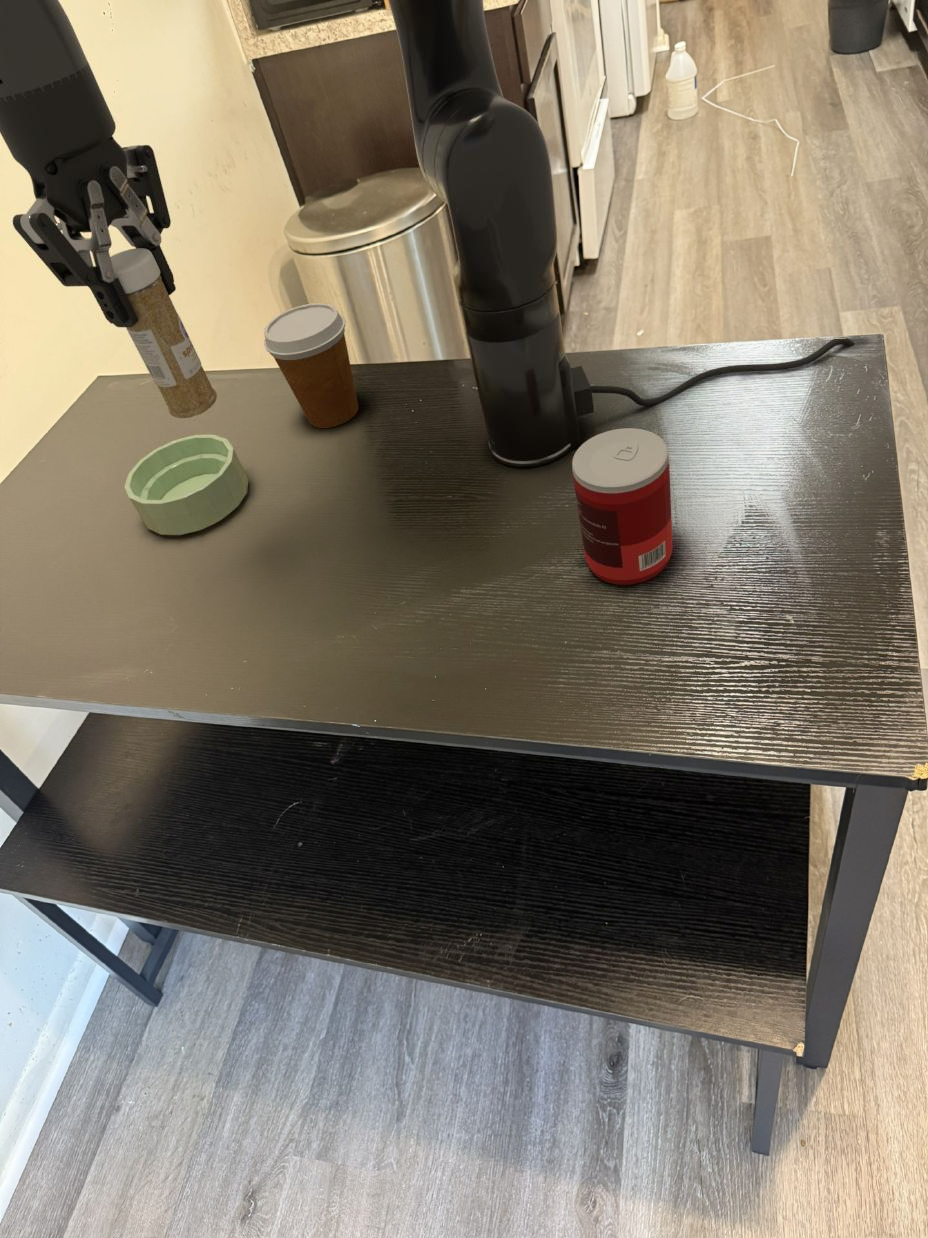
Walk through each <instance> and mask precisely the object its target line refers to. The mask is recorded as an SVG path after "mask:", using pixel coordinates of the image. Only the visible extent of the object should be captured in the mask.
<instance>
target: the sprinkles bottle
mask: <svg viewBox="0 0 928 1238" xmlns="http://www.w3.org/2000/svg"><path fill="white" fill-rule="evenodd" d="M110 258H111V262H112V266H113V270H114V275H115V278H118V279H119V281H120V283H121V285H122V287H123V289H124V291H125V293H126V295H127V297H128V299H129V301H130V303H131V305H132V307H133V309H134V311H135V313H136V315H137V317H138V322H137V323H136V324H135V325H134V326H133V327H125V329H126V331H127V333H128V334H129V337H130V338H131V341H132V342H133V344H134V346H135V348H136V350H137V352H138V354H139V356H140V357H141V359H142V362H143V364H144V365H145V368H146V369H147V371H148V373H149V375H150V377H151V379H152V381H153V383H154V384H155V385H156V386H157V388H158V390H159V392H160V394H161V397H162V398H163V401H164V402H165V404H166V406H167V411H168V413H169V415H171V416H172V417H174V418H177V419H190V418H193V417H196V416H199V415H201V414H203V413H205V412H207V411H208V410H209V409H210V408H211V407H213V405H214V404H215V403H216V400H217V398H218V394H217V392H216V390H215V388H213V386H212V384H211V382H210V380H209V378H208V376H207V373H206V371H205V369H204V367H203V365H202V362H201V361H202V360H201V359H200V357H199V355H198V352H197V351H196V348H195V347H194V344H193V342H192V340H191V338H190V336H189V334H188V332H187V329H186V327H185V325H184V323H183V320H182V319H181V316H180V315H179V313H178V312H177V310H176V308H175V305H174V303H173V300H172V299H171V297H170V295H168V292H167V291H166V288H165V286H164V284H163V282H162V280H161V276H160V270H159V267H158V265H157V263H156V261H155V259H154V257H153V255H152V253H151V252H150V251H149V250H147V249H144V248H135V247H134V248H129V249H126V250H123V251H119V252H117V253H115V254H113V255H110ZM115 278H114V279H115Z"/></svg>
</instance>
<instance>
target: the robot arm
mask: <svg viewBox="0 0 928 1238" xmlns="http://www.w3.org/2000/svg"><path fill="white" fill-rule="evenodd" d="M387 2H388V5H389V9H390V12H391V15H392V19H393V23H394V26H395V29H396V30H395V31H396V34H397V35H396V36H397V37H398V38H397V39H398V43H399V48H400V53H401V58H402V65H403V72H404V77H405V79H404V80H405V84H406V91H407V99H408V103H409V112H410V119H411V125H412V133H413V139H414V147H415V152H416V158H417V161H418V166H419V168H420V171H421V174H422V176H423V179H424V180H425V181H426V182H425V183H426V184H427V186H428V187H429V188H430V190H431V191H432V192H433V193H434V194H435V196H437V197H438V198H439V199H440V200H441V201H442V202H444V203H445V204H446V205H447V207H448V211H449V216H450V221H451V226H452V232H453V235H454V241H455V242H454V243H455V247H456V252H457V253H456V254H457V261H456V263H455V264H454V267H453V270H452V280H453V286H454V289H455V294H456V298H457V303H458V307H459V312H460V316H461V321H462V325H463V330H464V335H465V340H466V343H467V348H468V353H469V358H470V362H471V367H472V371H473V376H474V380H475V384H476V389H477V393H478V398H479V403H480V407H481V411H482V417H483V421H484V425H485V429H486V437H487V440H488V447H489V451H490V454H491V455H492V457H493V458H494V459H495V460H496V461H498V462H500V463H501V464H504V465H506V466H509V467H510V466H511V467H518V468H528V467H530V468H531V467H537V466H542V465H545V464H549V463H551V462H553V461H556V460H557V459H559V458H562V457H563V456H564V455H565V454H567V453H568V452H569V451H570V450H572V449H575V448H579V447H580V446H581V445H582V442H581V433H580V428H579V419H578V418H579V417H582V416H587V415H590V414H595V408H594V407H595V406H594V397H593V394H614V395H615V394H616V395H621V396H625V397H627V398H629V399H630V400H631V401H632V402H634V403H635V404H636V405H638V406H640V407H641V406H642V407H653V406H657V405H660V404H662V403H664V402H666V401H668V400H670V399H672V398H673V397H675V396H677V395H680V394H681V393H682V392H684V391H685V390H688V389H689V388H691V387H693V386H694V385H696V384H698V383H700V382H702V381H704V380H707V379H710V378H712V377H717V376H720V375H726V374H734V373H746V372H747V373H751V372H752V373H753V372H775V371H785V370H790V369H796V368H800V367H803V366H807V365H809V364H811V363H813V362H815V361H816V360H818V359H820V358H821V357H822V356H824V355H825V354H826V353H827V352H829V351H830V350H831V349H833V348H835V347H836V346H841V345H842V346H844V347H847V348H850V347H853V346H855V344H856V343H855V342H854V341H853V340H852V339H850V338H849V337H843V336H842V337H841V336H840V338H846V339H835V338H833V339H831V340H830V341H828V342H827V343H825V344H824V345H823V346H821V347H820V348H819V349H817V350H816V351H814V352H813V353H811V354H810V355H807V356H806V357H803V358H800V359H796V360H791V361H786V362H776V363H755V364H735V365H727V366H721V367H720V366H719V367H716V368H712V369H709V370H706V371H703V372H700V373H698V374H697V375H694V376H693V377H691V378H689V379H687V380H686V381H684V382H683V383H681V384H680V385H678V386H676V387H675V388H673V389H672V390H670V391H668V392H667V393H664V394H663V395H660V396H658V397H653V398H642V397H641V396H639V395H638V394H637V393H636V392H635V391H634V390H632V389H629V388H625V387H622V386H615V385H614V386H613V385H591V383H590V381H589V379H588V377H587V375H586V373H585V370H584V368H583V366H582V365H579V366H575V367H571V364H570V361H569V358H568V356H567V353H566V349H565V341H564V334H563V327H562V320H561V312H560V304H559V298H558V289H557V283H556V275H555V267H554V266H555V265H554V264H555V259H556V255H557V252H558V251H557V250H558V226H557V216H556V215H557V214H556V203H555V192H554V183H553V172H552V166H551V158H550V153H549V148H548V145H547V141H546V138H545V135H544V133H543V131H542V128H541V126H540V125H539V123H538V122H537V120H536V118H535V117H534V116H533V115H532V114H531V113H530V112H529V111H528V110H527V109H525V108H523V107H522V106H520V105H518V104H516V103H515V102H512V101H511V100H508V99H507V98H505V96H504V95H503V92H502V89H501V86H500V85H501V84H500V82H499V78H498V75H497V70H496V66H495V63H494V58H493V53H492V48H491V44H490V39H489V35H488V30H487V24H486V18H485V17H486V16H485V9H484V8H485V7H484V0H387ZM75 31H76V30H75V29H74V27H73V25H72V23H71V20H70V19H69V16H68V15H67V13H66V11H65V9H64V7H63V6H62V4H61V3H60V1H59V0H0V135H1V137H2V139H3V141H4V143H5V145H6V146H7V148H8V150H9V152H10V154H11V156H12V158H13V160H15V161H16V163H18V164H19V165H20V166H21V167H22V168H23V169H24V170H25V171H26V172H27V173H28V175H29V177H30V180H31V184H32V187H33V188H32V190H33V195H34V198H35V201H34V202H33V203H32V205H31V206H30V208H29V209H28V210H27V212H26V213H20V214H19V213H18V214H15V215H14V216H13V217H12V225H13V228H14V229H15V231H16V232H17V233H18V234H19V235H20V236H21V238H22V239H23V240H24V241H25V243H26V244H27V245H28V246H29V247H30V248H31V250H32V251H33V252H34V253H35V255H37V257H38V258H39V259H40V260H41V261H42V263H44V265H45V266H46V267H47V268H48V269H49V270H50V272H51V273H52V274H53V276H55V278H56V279H57V280H58V281H59V282H60V284H62V286H64V287H67V288H68V287H70V288H71V287H88V288H89V290H90V291H91V293H92V295H93V297H94V298H95V300H96V302H97V304H98V306H99V307H100V310H101V312H102V314H103V315H104V318H105V320H107V321H108V322H109V323H110V325H113V326H115V327H117V328H126V327H133V326H134V325H135V324H136V323H137V322H138V317H137V315H136V313H135V311H134V309H133V307H132V305H131V303H130V301H129V299H128V297H127V295H126V293H125V291H124V289H123V287H122V285H121V283H120V281H119V279H118V278H115V275H114V270H113V266H112V262H111V258H110V257H111V254H110V248H111V247H112V245H113V243H112V239H111V234H110V230H109V227H110V226H112V227H114V228H116V229H117V230H118V231H119V232H120V234H121V235H122V236H123V237H124V239H125V240H126V241H127V243H128V244H129V245H130V246H131V247H133V248H134V249H135V248H144V249H147V250H149V251H150V252H151V253H152V255H153V257H154V259H155V261H156V263H157V265H158V267H159V270H160V276H161V280H162V282H163V284H164V286H165V288H166V291H167V292H168V295H169V296H171V295H172V294H173V293H174V292H176V289H177V287H176V285H175V278H174V274H173V272H172V269H171V267H170V264H169V263H168V261H167V258H166V255H165V253H164V251H163V249H162V247H161V243H162V233H163V230H164V229H165V230H166V229H170V227H171V221H172V220H171V216H170V212H169V208H168V204H167V200H166V196H165V191H164V187H163V184H162V183H163V182H162V179H161V176H160V172H159V168H158V167H159V166H158V164H157V160H156V159H157V158H156V155H155V152H154V149H153V148H152V147H151V145H149V144H142V145H141V144H138V145H137V144H136V145H129V146H121V144H119V143H118V142H117V141H116V139H115V138H114V135H115V132H116V127H117V126H116V122H115V119H114V117H113V114H112V112H111V110H110V108H109V106H108V104H107V101H106V99H105V97H104V94H103V93H102V90H101V88H100V86H99V83H98V80H97V79H96V76H95V74H94V72H93V70H92V67H91V65H90V63H89V61H88V58H87V56H86V54H85V52H84V49H83V47H82V45H81V42H80V40H79V38H78V36H77V34H76V32H75ZM147 197H148V198H149V200H150V203H151V208H152V211H153V212H151V210H150V207H149V203H148V200H147ZM56 218H57V219H58V221H59V222H58V221H57V219H56ZM82 233H91V237H89V238H88V237H85V236H83V234H82ZM91 255H92V256H91ZM92 257H93V260H92ZM93 261H94V263H93ZM114 278H115V279H114Z"/></svg>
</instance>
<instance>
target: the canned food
mask: <svg viewBox="0 0 928 1238" xmlns="http://www.w3.org/2000/svg"><path fill="white" fill-rule="evenodd" d="M577 448H578V449H577V450H576V451H575V452H574V455H573V457H572V461H571V462H572V468H571V469H572V476H573V477H572V478H573V485H574V493H575V501H576V506H577V507H576V508H577V512H578V520H579V527H580V532H581V539H582V540H581V541H582V547H583V552H584V558H585V562H586V564H587V566H588V567H589V569H590V570H591V571H590V572H592V573H593V574H594V575H595V576H596V578H598V579H600V580H601V581H603V582H606V583H608V584H612V585H618V586H620V585H621V586H628V585H637V584H641V583H643V582H646V581H650V580H651V579H653V578H654V577H656V576H658V575H659V574H660V573H662V571H663V570H664V569H665V568H666V567H667V566H668V563H669V561H670V559H671V556H672V553H673V548H674V545H673V541H674V540H673V521H672V519H673V517H672V497H671V496H672V495H671V474H670V473H671V472H670V458H669V457H670V456H669V452H668V451H669V450H668V446H667V444H666V442H665V441H664V440H663V438H662V437H660V436H659V435H657V434H656V433H654V432H652V431H649V430H646V429H643V428H633V427H631V428H630V427H628V428H627V427H625V428H616V429H612V430H607V431H603V432H601V433H598V434H596V435H594V436H592V437H590V438H589V439H587V440H585V442H583V443H581V446H579V447H577Z"/></svg>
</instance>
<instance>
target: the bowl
mask: <svg viewBox="0 0 928 1238" xmlns="http://www.w3.org/2000/svg"><path fill="white" fill-rule="evenodd" d="M241 463H242V462H241V461H240V459H239V457H238V455H237V452H236V450H235V448H234V446H233V445H232V444H231V443H230V441H229V440H228V439H227V438H225V437H222V436H219V435H217V434H194V435H190V436H185V437H182V438H178V439H174V440H172V441H170V442H167V443H165V444H164V445H162V446H159V447H157V448H155V449H154V450H152V451H151V452H149V453H148V454H147V455H145V456H144V457H142V458H141V459H140V460H139V461H138V462H137V463H136V464H135V465H134V466H133V467H132V469H131V470H130V471H129V473H128V474H127V475H126V479H125V483H124V491H125V492H126V494H127V496H128V498H129V500H130V503H132V505H133V506H134V509H135V510H136V511H137V513H138V516H140V519H141V520H142V521H143V523H144V525H145V526H146V528H147V529H148V530H151V531H152V532H154V533H155V534H159V535H161V536H182V535H187V534H190V533H195V532H199V531H202V530H204V529H207V528H209V527H211V526H213V525H215V524H217V523H219V522H220V521H222V520H223V519H225V518H226V517H227V516H229V514H231V513H232V512H233V511H234V510H236V509H237V508H238V507H239V506H240V505H241V503H242V502H243V500H244V498H245V496H246V495H247V494H248V487H249V477H248V475H247V474H246V470H245V469H244V468H243V465H242V464H241Z"/></svg>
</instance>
